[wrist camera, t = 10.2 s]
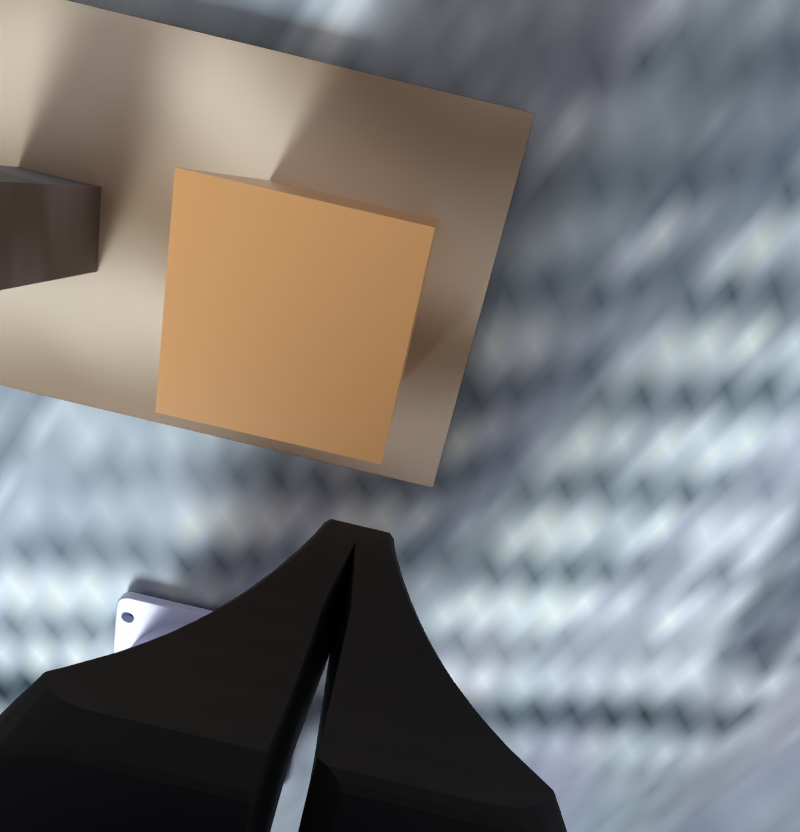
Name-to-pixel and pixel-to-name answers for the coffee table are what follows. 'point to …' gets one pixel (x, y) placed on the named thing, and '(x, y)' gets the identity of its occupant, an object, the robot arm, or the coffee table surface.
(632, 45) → the coffee table surface
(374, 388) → the orange rectangular block
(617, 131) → the coffee table surface
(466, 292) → the post board
